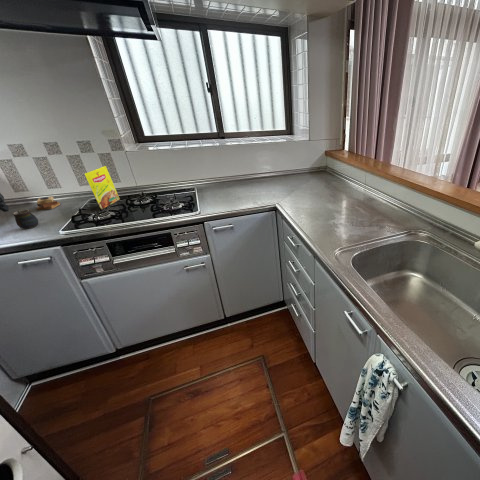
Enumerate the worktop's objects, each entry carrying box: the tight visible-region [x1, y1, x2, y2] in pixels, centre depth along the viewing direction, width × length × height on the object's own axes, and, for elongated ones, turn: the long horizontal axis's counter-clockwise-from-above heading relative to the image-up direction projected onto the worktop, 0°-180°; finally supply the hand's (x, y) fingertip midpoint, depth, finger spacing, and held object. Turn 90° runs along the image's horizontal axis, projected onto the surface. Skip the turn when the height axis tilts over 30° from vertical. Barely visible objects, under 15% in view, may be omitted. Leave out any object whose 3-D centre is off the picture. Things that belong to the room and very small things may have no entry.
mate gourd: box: [12, 209, 39, 230], centre depth 126 cm, size 7×8×10 cm
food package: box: [84, 165, 121, 210], centre depth 147 cm, size 15×1×20 cm, turn 179°
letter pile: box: [35, 196, 61, 211], centre depth 149 cm, size 9×9×5 cm
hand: (6, 208), depth 115 cm, fingers closed
